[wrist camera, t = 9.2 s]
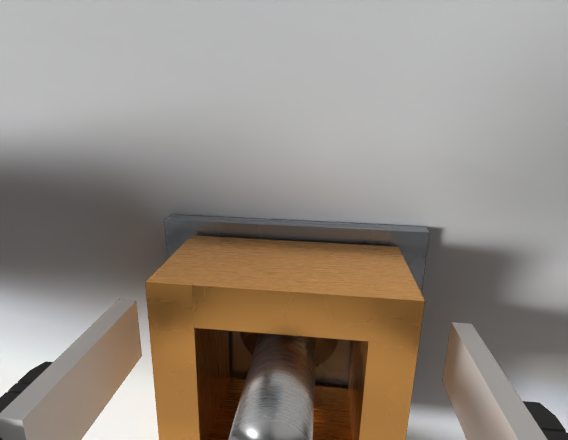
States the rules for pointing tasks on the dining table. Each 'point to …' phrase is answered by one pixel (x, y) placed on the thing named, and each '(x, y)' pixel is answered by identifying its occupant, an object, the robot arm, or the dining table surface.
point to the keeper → (287, 348)
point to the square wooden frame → (283, 330)
